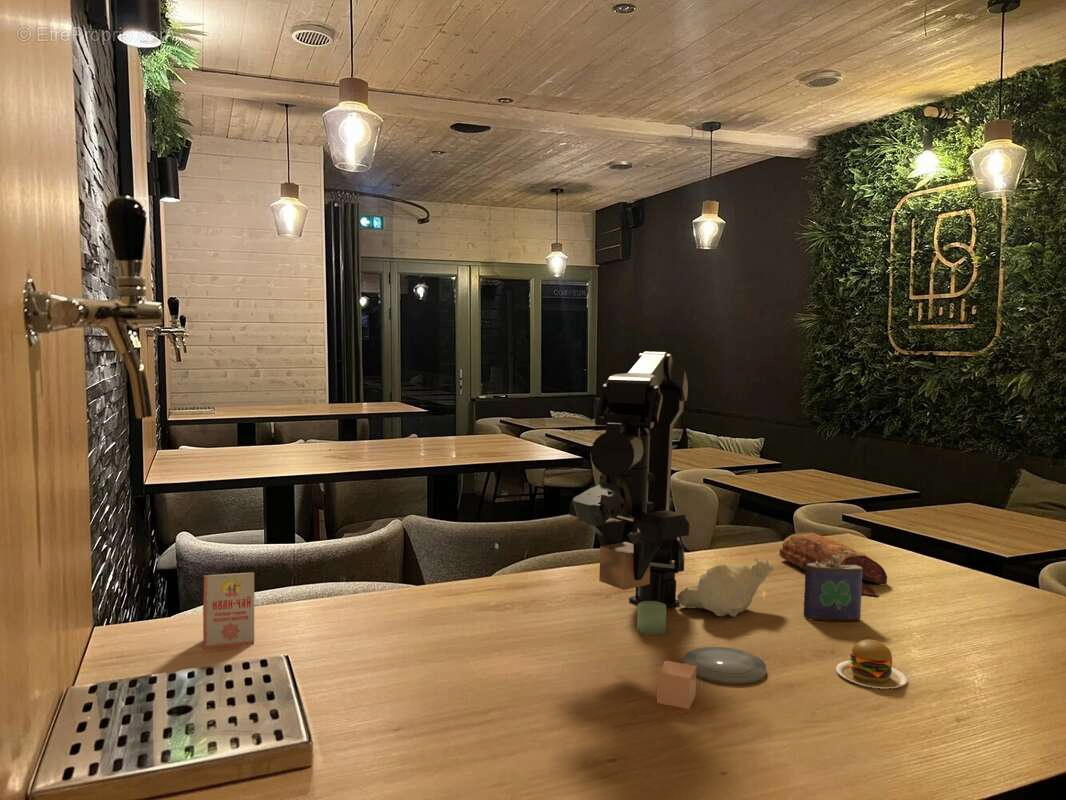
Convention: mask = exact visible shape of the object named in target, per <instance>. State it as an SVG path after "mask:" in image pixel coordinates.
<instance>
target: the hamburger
mask: <svg viewBox="0 0 1066 800" xmlns="http://www.w3.org/2000/svg"><path fill="white" fill-rule="evenodd" d="M847 668H849V669H850V670H851V673H852V675H853V676H855V678H857V679H859V680H861V679H862V681H864V682H868V683H874V682H876V684H879V683H881V682H882V683H885V682H887V681H889V680H890V678H891V675H893V674H894V675H893V676H895V677H896V676H897V677H896V678H898V680H899V679H900V680H899V684H897V685H895V686H889V687H886V686H873V685H869V684H864V683H861V682H857V681H854V680H851V679H849V678H848V677H847V676H845V675H844V673H843V671H844V670H845V669H847ZM835 670H836V672H837V674H838V675H840V676H841V677H842V678H843V679H846V680H847V681H849V682H852V683H853V682H854V684H856V685H858V684H859V686H862V687H866V688H870V687H872V689H878V688H880V689H881V690H889V688H891V689H896V688H900V687H903V686H905V685H906V684H907V682H908V678H907V676H906V675H905V674H904V673H903V672H902V671H900V670H898V669H897V668H894V667H893V656H892V652H891V650H890V649H889V647H888V646H887V645H886V644H884V643H883V642H881V641H879V640H875V639H869V638H867V639H862V640H860V641H858V642H856V643H855V644H853V646H852V649H851V653H850V656H849V660H846V661H841V662H840V663H838V664H837V665H836V667H835ZM880 689H879V690H880Z"/></svg>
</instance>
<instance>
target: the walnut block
mask: <svg viewBox="0 0 1066 800" xmlns="http://www.w3.org/2000/svg"><path fill="white" fill-rule="evenodd" d="M598 578H599V582H601V583H604V584H607V585H609V586H611V587H614V588H617V589H620V590H622V591H626V590H630V589H636V587H640V586H644V585H648V584H650V564H649V566H648V568H647V570H646V572H645V574H644V576H643V578H642V579H641V580H638V581H637V580H635V579H634V550H633V544H631V543H628V541H623V542H622V543H617V544H611V545H605V546H601V545H600V547H599V577H598Z"/></svg>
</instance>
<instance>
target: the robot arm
mask: <svg viewBox="0 0 1066 800" xmlns="http://www.w3.org/2000/svg"><path fill="white" fill-rule="evenodd" d="M688 390H689V382H688V378H687V373H686V370H685V369H684V368H683V367H682V366H680V365H679V364H677V363H676V362H675V361H674V360H673V357H672V354H671V353H668V352H667V351H644V352H643V353H641V352H640V353H639V355H638V359H637V361H636V362H635V364H634V365H633V366H632V367H631V369H629V371H628V372H627V373H615V374H612V375H610V376H609V377H608V378H607V380H606V383H604V384H603V385H602V388H601V392H600V396H599V402H598V406H597V412H596V415H595V421H594V425H595V426H601V427H605V432H604V433H602V434H600V435H599V436H598V437H596V439H595V440H594V442H593V443H592V446H591V448H590V459H591V462H592V465H593V466H594V467H595V469H596V470H597V471H599V472H600V473H601V474H600V475H599V483H598V484H597V485H596V486H593V487H591V488H588V489H587V490H585V491H583V492H582V493H580V494H578V495H574V497H573V498H572V499H571V501H570V502H569V516H573V517H576V518H577V521H578V522H580V523H583V524H584V525H586V526H588V527H589V528H590V529H591V530H592V531H593V532H594V533H595V535H596V536H597V540H598V541H599V544H600V546H605V545H611V544H617V543H622V541H623V536H624V531H625V526H626V523H630V524H632V531H631V532H630V533H627V534H626V535H627V537H628V541H627V542H628V543H631V544H633V550H634V579H635V580H637V581H638V580H641V579H642V578H643V576H644V574H645V572H646V570H647V568H648V566H649V564H650V584H648V585H644V586H640V587H635V595H633V596H630V597H628V600H629V601H630V602H632V603H634V604H637V605H638V603H640V602H642V601H656V602H661V603H663V604H665V605H666V608H670V607H673V606H677V605H681V604H680V603H679V600H678V599H676V598H677V595H676V594H677V579H676V574H679V572H685V553H684V552H685V551H684V550H685V549H684V546H683V544H682V541H681V538H682V537H686V536H687V537H688V536H690V520H689V517H687V516H686V514H683V513H679V512H675V511H671V510H670V496H671V495H670V494H671V493H670V492H671V477H672V476H671V475H672V454H673V433H674V425H675V423H676V422H677V420H678V418H679V417H680V416H681V414H682V413H683V411H684V402H687V400H688V394H689V391H688ZM633 516H634V517H633Z"/></svg>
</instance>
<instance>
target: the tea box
mask: <svg viewBox="0 0 1066 800" xmlns="http://www.w3.org/2000/svg"><path fill="white" fill-rule="evenodd" d="M202 600H203V601H202V602H203V603H202V604H203V607H202V608H203V609H202V611H203V612H202V618H203V621H202V624H203V625H202V627H203V628H202V632H203V633H202V634H203V637H202V638H203V640H202V641H203V645H202V647H203V650H204V649H205V650H206V649H214V648H224V647H226V648H227V647H236V646H245V645H255V572H253V571H252V572H239V573H223V574H207V575H205V574H204V575H203V599H202Z"/></svg>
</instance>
